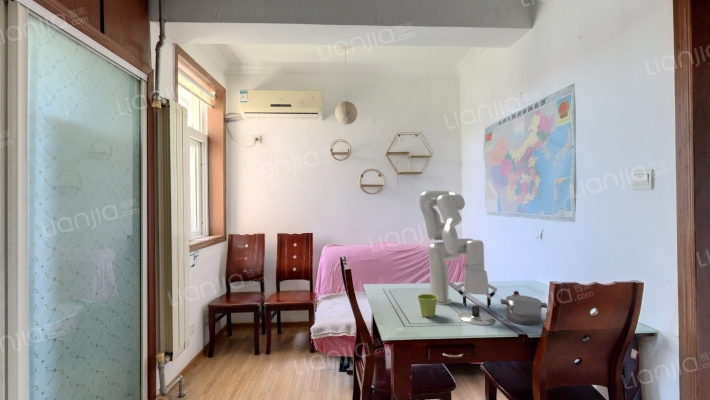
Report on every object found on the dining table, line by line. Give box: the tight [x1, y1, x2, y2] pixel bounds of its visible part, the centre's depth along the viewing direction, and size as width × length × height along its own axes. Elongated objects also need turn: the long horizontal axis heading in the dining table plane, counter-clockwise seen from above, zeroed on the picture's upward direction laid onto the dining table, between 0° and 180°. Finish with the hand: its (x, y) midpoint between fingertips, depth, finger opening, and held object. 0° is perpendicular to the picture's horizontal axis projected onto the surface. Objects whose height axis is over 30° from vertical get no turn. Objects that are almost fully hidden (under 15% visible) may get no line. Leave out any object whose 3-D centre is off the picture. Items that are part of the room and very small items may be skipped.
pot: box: [500, 294, 548, 327], centre depth 146 cm, size 18×14×9 cm
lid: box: [457, 304, 495, 326], centre depth 148 cm, size 15×15×6 cm
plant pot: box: [417, 293, 438, 318], centre depth 154 cm, size 9×9×9 cm
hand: (476, 306), depth 148 cm, fingers open, 9 cm apart
